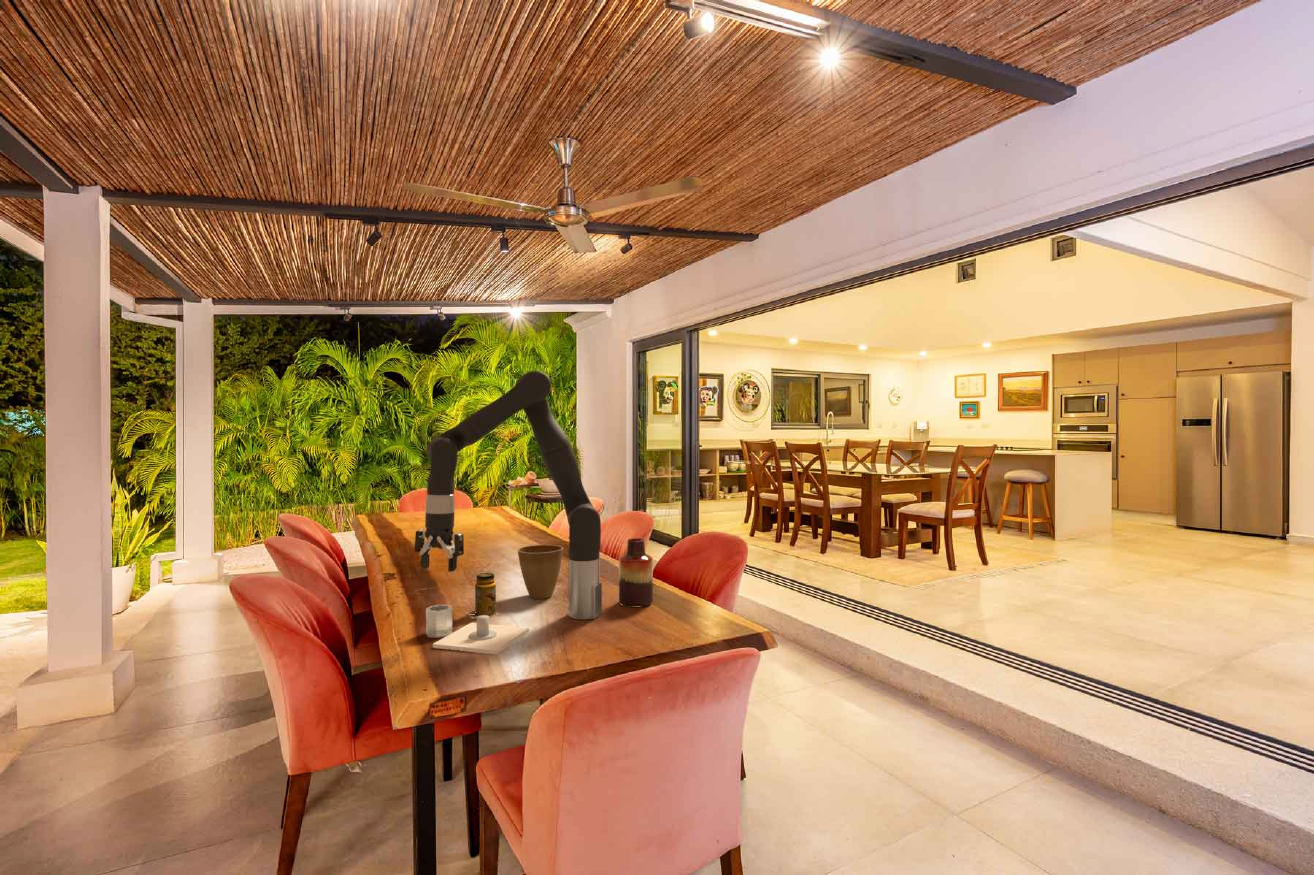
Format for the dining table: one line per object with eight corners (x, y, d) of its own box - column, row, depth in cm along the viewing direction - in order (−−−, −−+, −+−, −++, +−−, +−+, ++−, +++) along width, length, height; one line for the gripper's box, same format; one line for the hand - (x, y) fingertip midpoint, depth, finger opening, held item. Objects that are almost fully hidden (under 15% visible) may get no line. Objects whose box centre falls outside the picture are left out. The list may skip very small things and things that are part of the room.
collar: (456, 630, 174) (456, 605, 174) (442, 638, 168) (442, 612, 168) (436, 628, 176) (435, 604, 176) (421, 636, 170) (421, 610, 170)
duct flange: (529, 631, 174) (529, 610, 174) (495, 654, 157) (495, 630, 156) (471, 626, 179) (471, 605, 179) (432, 647, 161) (432, 624, 161)
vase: (659, 601, 204) (659, 538, 204) (640, 609, 195) (640, 544, 194) (631, 596, 210) (631, 535, 209) (612, 604, 201) (612, 540, 200)
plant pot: (569, 591, 216) (569, 545, 215) (552, 603, 201) (552, 553, 201) (529, 589, 219) (529, 543, 219) (509, 600, 205) (509, 551, 204)
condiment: (500, 615, 189) (500, 575, 189) (472, 619, 185) (472, 579, 184) (492, 609, 195) (492, 570, 195) (464, 613, 191) (464, 574, 190)
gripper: (470, 511, 173) (468, 569, 174) (427, 507, 178) (425, 564, 178) (453, 514, 166) (452, 575, 166) (409, 510, 171) (407, 570, 171)
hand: (438, 569), depth 172 cm, fingers open, 8 cm apart
